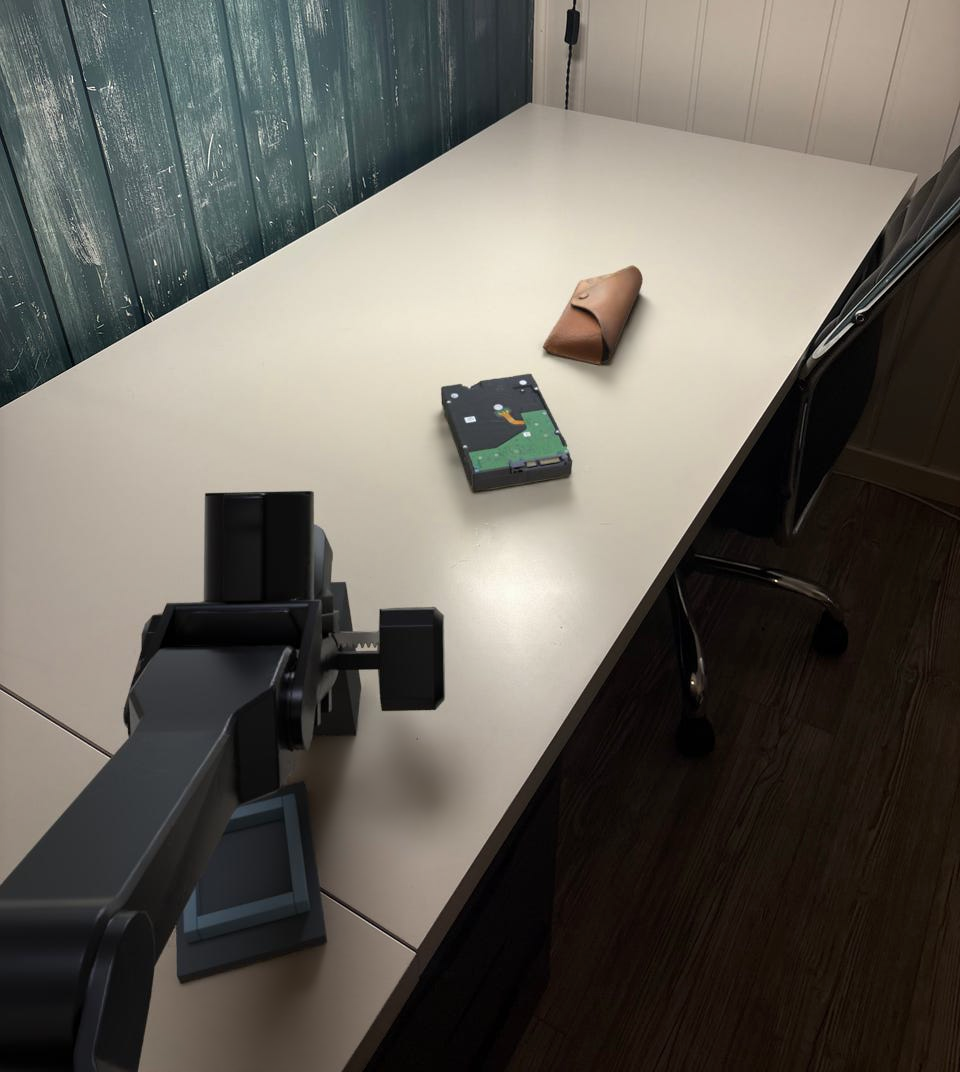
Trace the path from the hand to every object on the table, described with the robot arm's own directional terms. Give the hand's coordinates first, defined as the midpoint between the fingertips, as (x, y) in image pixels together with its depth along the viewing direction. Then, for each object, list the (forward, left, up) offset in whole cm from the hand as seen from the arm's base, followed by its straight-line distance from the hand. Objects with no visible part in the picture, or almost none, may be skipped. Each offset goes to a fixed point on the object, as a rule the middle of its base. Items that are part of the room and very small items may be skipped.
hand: (317, 644), depth 68 cm
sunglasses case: (+47, -39, -8) cm, 61 cm away
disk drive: (+28, -22, -8) cm, 36 cm away
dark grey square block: (0, 0, -8) cm, 8 cm away
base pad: (-12, +7, -8) cm, 16 cm away
